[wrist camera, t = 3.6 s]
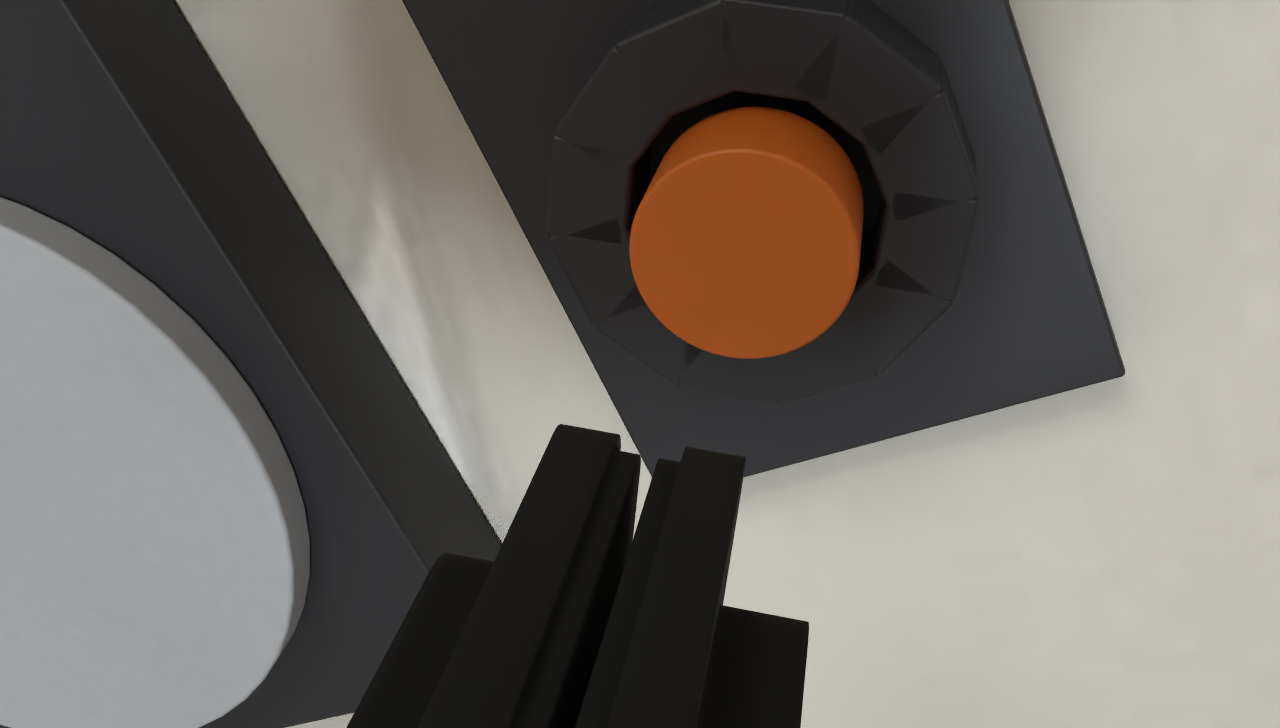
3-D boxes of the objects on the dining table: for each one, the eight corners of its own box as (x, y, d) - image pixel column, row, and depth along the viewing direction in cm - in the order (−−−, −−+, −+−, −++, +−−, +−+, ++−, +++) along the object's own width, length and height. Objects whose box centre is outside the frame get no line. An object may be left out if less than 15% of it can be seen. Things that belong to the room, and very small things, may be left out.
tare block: (404, -45, 18) (338, -8, 16) (914, -297, 15) (915, -291, 13) (670, 472, 22) (645, 557, 20) (1118, 348, 19) (1144, 433, 17)
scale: (-378, 221, 24) (-542, 292, 21) (136, -64, 19) (6, -19, 16) (46, 716, 29) (-41, 823, 27) (534, 597, 24) (487, 714, 22)
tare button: (618, 150, 17) (590, 196, 15) (818, 72, 16) (808, 113, 14) (702, 326, 18) (683, 386, 17) (894, 266, 17) (893, 323, 15)
